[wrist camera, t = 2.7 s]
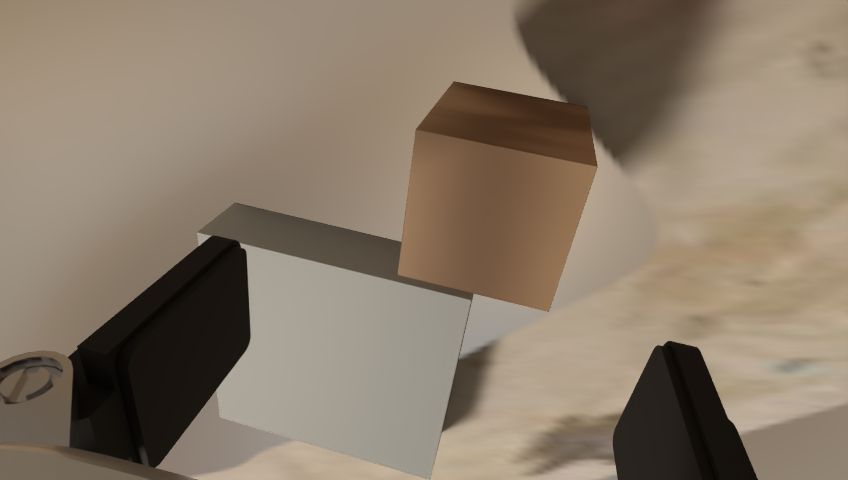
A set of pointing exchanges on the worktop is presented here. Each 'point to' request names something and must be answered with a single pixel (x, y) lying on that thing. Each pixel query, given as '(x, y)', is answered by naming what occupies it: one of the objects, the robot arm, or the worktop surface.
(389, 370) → the base slab
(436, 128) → the walnut block
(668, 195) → the worktop surface
